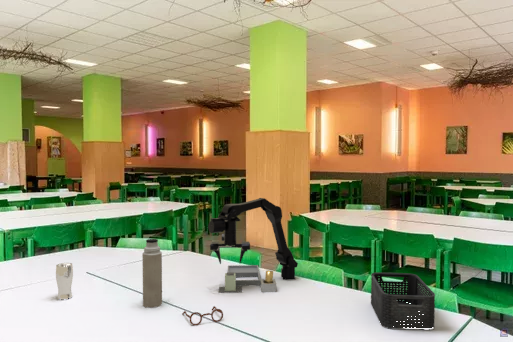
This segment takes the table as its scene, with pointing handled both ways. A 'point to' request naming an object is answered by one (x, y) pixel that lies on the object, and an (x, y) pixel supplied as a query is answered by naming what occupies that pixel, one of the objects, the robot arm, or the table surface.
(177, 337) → the table surface
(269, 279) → the rod
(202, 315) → the glasses
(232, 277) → the module
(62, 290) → the beer glass
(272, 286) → the grey square socket block
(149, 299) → the thermos bottle
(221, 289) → the mat
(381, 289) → the storage bin
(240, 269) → the case
